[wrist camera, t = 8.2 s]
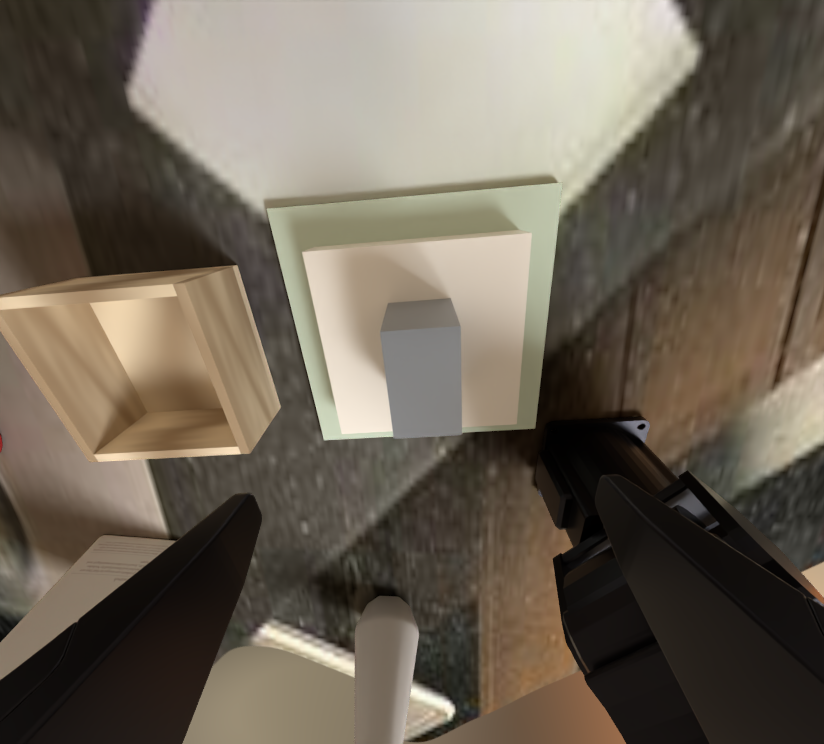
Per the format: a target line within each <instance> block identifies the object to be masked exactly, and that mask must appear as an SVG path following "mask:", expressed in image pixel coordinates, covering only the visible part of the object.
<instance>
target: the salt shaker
mask: <svg viewBox="0 0 824 744" xmlns="http://www.w3.org/2000/svg"><path fill="white" fill-rule="evenodd" d="M418 638H419V632H418V627H417V624H416V622H415V619H414V616H413V614H412V611H411V608H410V606H409V605H408V604H407V603H406V602H404V601H403V600H402V599H401V598H400V597H395V596H378V597H377V598H375V599H374V600H372V601H371V602H369V603H368V604H367V605H366V607H365V609H364V611H363V613H362V615H361V617H360V619H359V621H358V623H357V626H356V630H355V744H403V740H404V733H405V726H406V720H407V713H408V706H409V699H410V692H411V685H412V679H413V672H414V665H415V658H416V651H417V645H418Z"/></svg>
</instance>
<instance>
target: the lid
mask: <svg viewBox="0 0 824 744" xmlns="http://www.w3.org/2000/svg"><path fill="white" fill-rule="evenodd" d="M531 239H532V233H530V232H526V231H522V230H510V231H498V232H486V233H474V234H462V235H450V236H438V237H426V238H414V239H402V240H390V241H378V242H366V243H354V244H343V245H331V246H319V247H313V248H310V249H308V250H306V251H303V252H302V254H303V259H304V263H305V268H306V272H307V277H308V282H309V286H310V291H311V295H312V300H313V305H314V309H315V314H316V318H317V323H318V327H319V332H320V337H321V341H322V346H323V350H324V355H325V360H326V364H327V369H328V373H329V378H330V383H331V387H332V392H333V396H334V401H335V406H336V410H337V415H338V419H339V424H340V428H341V433H342V434H354V433H372V432H389V431H393V437H394V439H399V438H417V437H435V436H453V435H462V427H478V426H495V425H513V424H517V415H518V402H519V390H520V377H521V365H522V352H523V340H524V327H525V315H526V302H527V290H528V277H529V264H530V252H531Z"/></svg>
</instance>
